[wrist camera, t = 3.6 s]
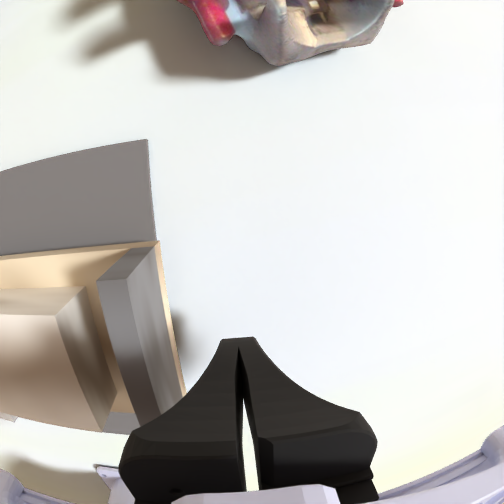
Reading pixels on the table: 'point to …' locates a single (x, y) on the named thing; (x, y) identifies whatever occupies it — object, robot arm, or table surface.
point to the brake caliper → (292, 24)
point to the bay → (79, 211)
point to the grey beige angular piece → (87, 336)
